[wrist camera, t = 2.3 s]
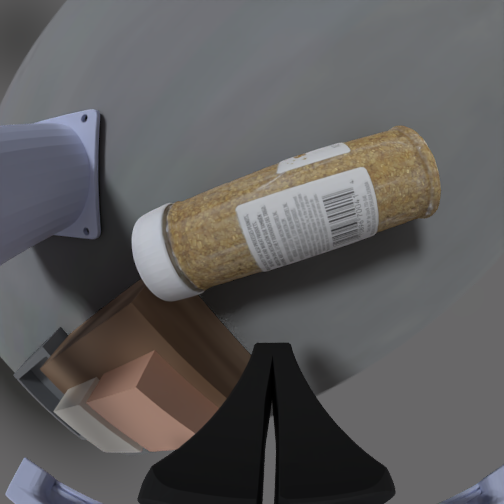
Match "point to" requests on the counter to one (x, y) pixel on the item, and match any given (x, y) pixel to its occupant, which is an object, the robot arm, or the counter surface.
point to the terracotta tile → (151, 403)
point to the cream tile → (92, 421)
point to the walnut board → (152, 343)
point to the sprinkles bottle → (286, 213)
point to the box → (43, 377)
